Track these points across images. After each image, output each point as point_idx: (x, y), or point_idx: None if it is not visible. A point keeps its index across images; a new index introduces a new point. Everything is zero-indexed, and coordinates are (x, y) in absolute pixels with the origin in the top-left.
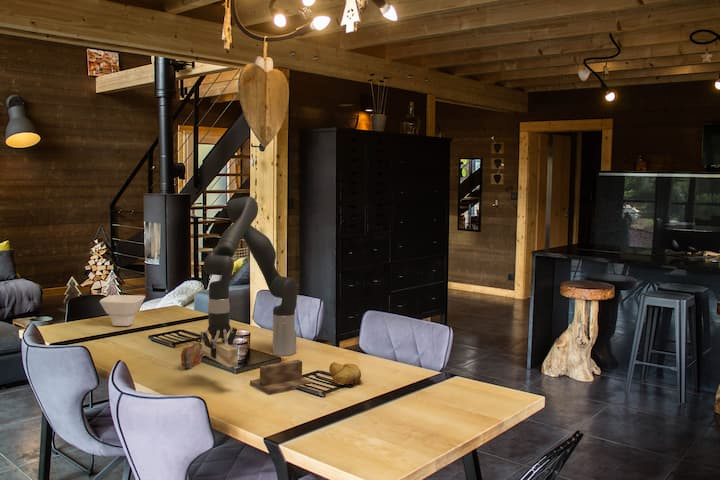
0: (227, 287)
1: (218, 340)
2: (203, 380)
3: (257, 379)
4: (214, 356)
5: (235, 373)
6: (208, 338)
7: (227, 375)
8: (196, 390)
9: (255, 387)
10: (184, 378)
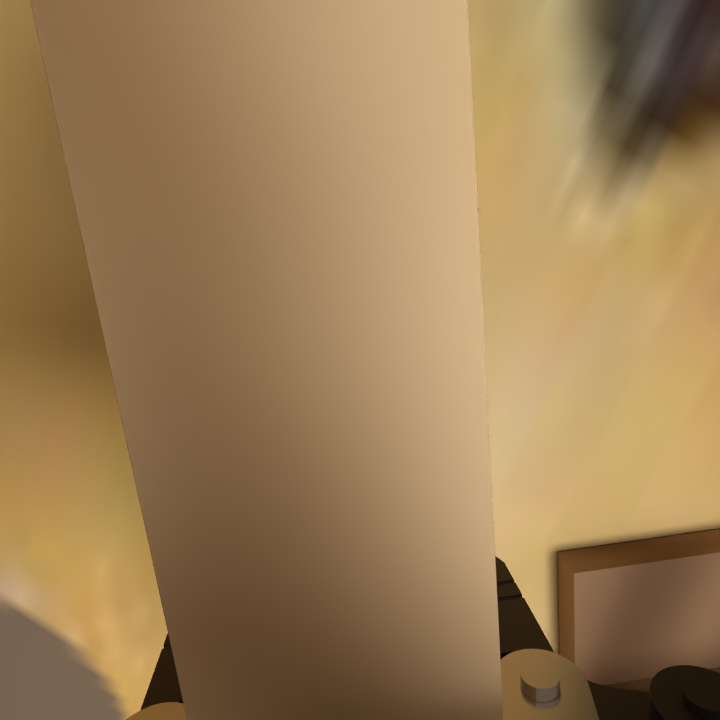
0: None
1: (485, 529)
2: None
3: (645, 570)
4: None
5: (610, 151)
6: (251, 39)
7: (508, 182)
8: (76, 513)
9: (559, 637)
10: (38, 53)
